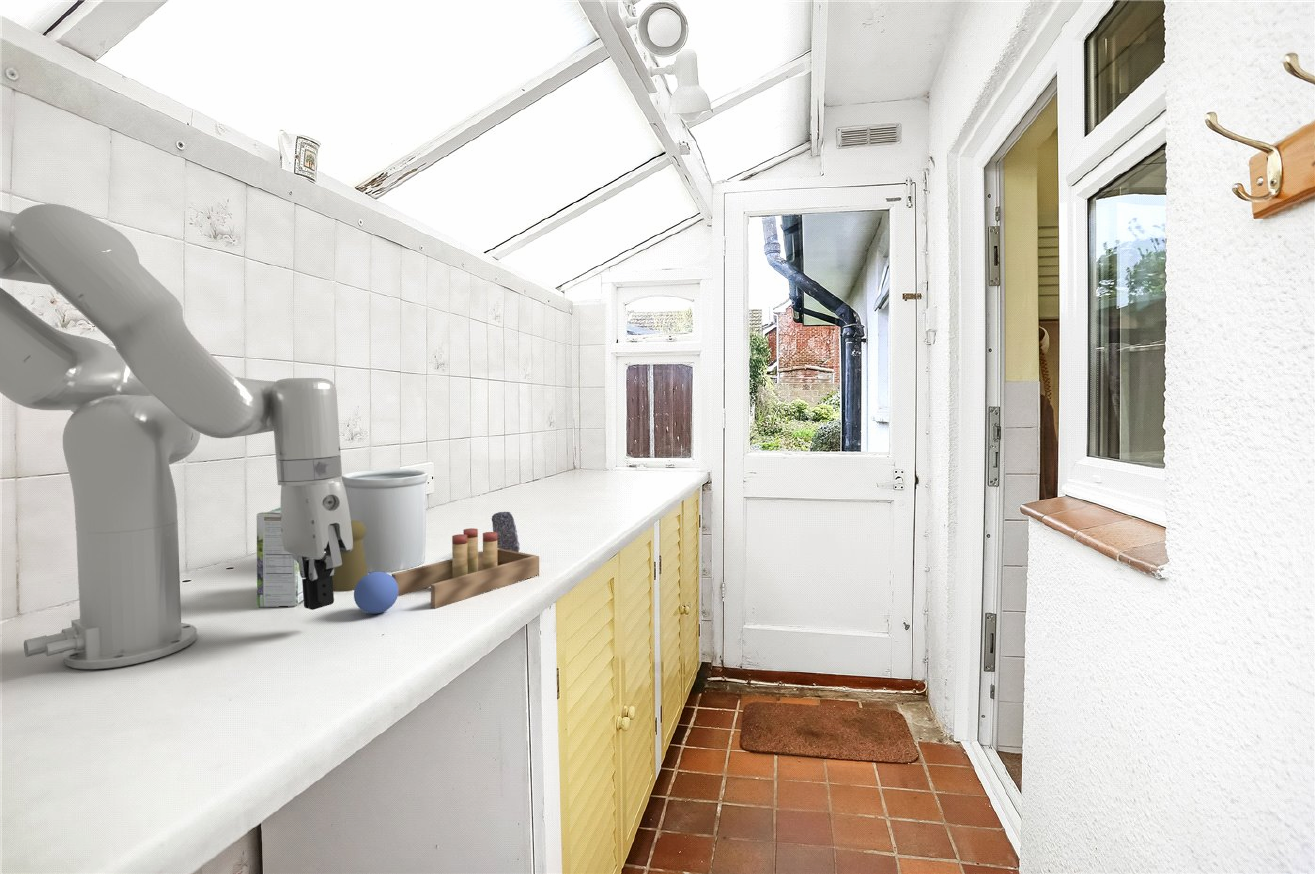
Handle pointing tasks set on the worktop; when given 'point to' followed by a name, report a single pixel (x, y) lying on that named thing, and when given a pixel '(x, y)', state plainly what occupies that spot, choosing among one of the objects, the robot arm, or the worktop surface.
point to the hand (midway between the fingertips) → (319, 605)
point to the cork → (351, 562)
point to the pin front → (459, 555)
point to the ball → (376, 592)
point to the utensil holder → (389, 516)
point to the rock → (505, 531)
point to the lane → (467, 577)
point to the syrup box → (275, 565)
